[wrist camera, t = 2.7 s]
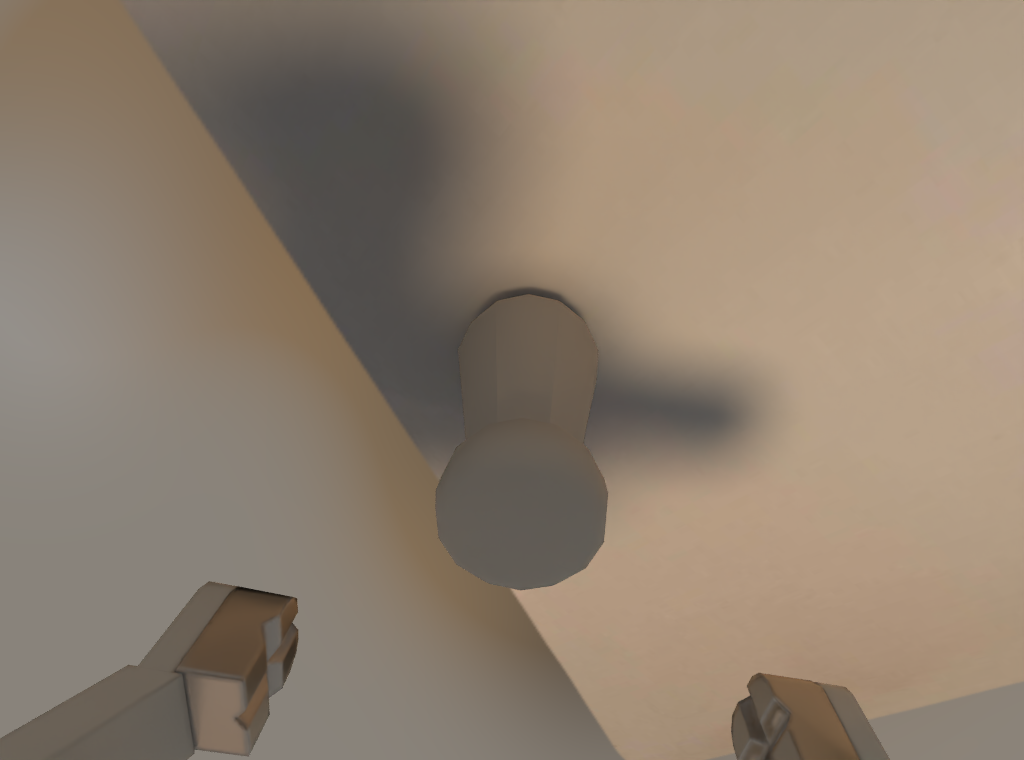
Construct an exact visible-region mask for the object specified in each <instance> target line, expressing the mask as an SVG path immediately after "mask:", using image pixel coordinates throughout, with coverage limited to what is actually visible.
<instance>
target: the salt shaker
mask: <svg viewBox="0 0 1024 760" xmlns="http://www.w3.org/2000/svg"><path fill="white" fill-rule="evenodd" d="M458 353H459V365H460V377H461V389H462V401H463V413H464V425H465V437H466V441H464V442H463V443H461V444H460V445H459V446H458V447H456V449H455V451H454V453H453V455H452V457H451V459H450V461H449V463H448V465H447V467H446V469H445V471H444V473H443V475H442V477H441V479H440V482H439V484H438V486H437V489H436V516H437V526H438V536H439V539H440V541H441V542H442V544H443V545H444V547H445V548H446V550H447V551H448V553H449V554H450V556H451V557H452V559H453V560H454V562H455V563H456V564H457V565H458V566H460V567H462V568H463V569H465V570H467V571H468V572H470V573H472V574H473V575H475V576H477V577H478V578H480V579H482V580H483V581H485V582H487V583H489V584H493V585H498V586H503V587H508V588H512V589H517V590H526V589H533V588H540V587H547V586H552V585H555V584H557V583H559V582H561V581H563V580H565V579H567V578H568V577H570V576H572V575H574V574H576V573H578V572H579V571H581V570H583V569H585V568H586V567H587V566H588V564H589V563H590V561H591V560H592V558H593V557H594V556H595V554H596V553H597V551H598V550H599V548H600V547H601V545H602V544H603V542H604V534H605V523H606V512H607V500H608V491H607V488H606V484H605V480H604V478H603V476H602V474H601V472H600V470H599V468H598V466H597V464H596V462H595V460H594V458H593V456H592V455H591V453H590V451H589V449H588V448H587V447H586V446H585V445H584V438H585V431H586V426H587V422H588V417H589V412H590V408H591V403H592V398H593V394H594V389H595V384H596V380H597V364H598V349H597V346H596V344H595V342H594V340H593V338H592V336H591V333H590V331H589V329H588V327H587V325H586V323H585V321H584V320H583V319H582V318H580V317H579V316H578V315H577V314H575V313H574V312H573V311H572V310H570V309H569V308H568V307H567V306H565V305H564V304H563V303H562V302H560V301H559V300H554V299H549V298H545V297H540V296H536V295H531V294H526V295H522V296H517V297H512V298H507V299H503V300H498V301H496V302H495V303H494V304H493V305H492V306H490V307H489V308H488V309H487V310H486V311H484V312H483V313H482V314H481V315H479V316H478V317H477V318H476V319H475V320H473V321H472V322H471V324H470V326H469V328H468V330H467V332H466V334H465V336H464V338H463V341H462V343H461V345H460V347H459V349H458Z"/></svg>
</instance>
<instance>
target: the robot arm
mask: <svg viewBox="0 0 1024 760" xmlns="http://www.w3.org/2000/svg"><path fill="white" fill-rule="evenodd" d="M297 613H298V607H297V598H294V597H290V596H285V595H280V594H274V593H269V592H264V591H259V590H254V589H249V588H244V587H238V586H232V585H227V584H220V583H215V582H208V583H206V584H205V585H204V586H202V587H201V588H199V589H198V590H197V592H196V593H195V594H194V596H193V597H192V598H191V599H190V601H189V602H188V603H187V604H186V606H185V607H184V608H183V609H182V611H181V612H180V613H179V615H178V616H177V617H176V618H175V620H174V621H173V622H172V624H171V625H170V626H169V627H168V629H167V630H166V631H165V632H164V634H163V635H162V636H161V637H160V639H159V640H158V641H157V643H156V644H155V645H154V646H153V648H152V649H151V650H150V652H149V653H148V654H147V655H146V656H145V658H144V659H143V660H142V661H141V663H140V664H139V665H138V666H132V665H127V666H126V667H124V668H122V669H120V670H119V671H117V672H115V673H113V674H112V675H110V676H108V677H107V678H105V679H103V680H101V681H100V682H98V683H96V684H94V685H93V686H91V687H89V688H87V689H86V690H84V691H82V692H80V693H79V694H77V695H75V696H73V697H72V698H70V699H68V700H66V701H65V702H63V703H61V704H59V705H58V706H56V707H54V708H52V709H51V710H49V711H47V712H45V713H44V714H42V715H40V716H38V717H37V718H35V719H33V720H32V721H30V722H28V723H27V724H25V725H23V726H21V727H19V728H18V729H16V730H14V731H12V732H11V733H9V734H7V735H5V736H4V737H2V738H0V760H187V759H188V758H189V757H191V756H192V755H193V754H194V750H203V751H210V752H218V753H226V754H234V755H241V756H249V755H250V753H251V751H252V749H253V747H254V745H255V743H256V741H257V739H258V737H259V735H260V733H261V731H262V729H263V727H264V725H265V723H266V720H267V719H268V716H269V698H270V697H271V696H272V695H274V694H275V693H276V692H278V691H279V690H280V689H282V688H283V685H284V683H285V681H286V679H287V677H288V675H289V673H290V670H291V667H292V664H293V660H294V658H295V655H296V651H297V644H298V629H297V628H296V627H295V626H294V624H293V623H292V622H293V620H294V618H295V616H296V614H297ZM747 688H748V690H749V693H750V696H749V697H747V698H745V699H743V700H741V701H739V702H738V704H737V706H736V708H735V710H734V712H733V715H732V727H731V734H732V741H733V747H734V750H735V754H736V757H737V760H890V759H889V757H888V755H887V754H886V752H885V750H884V748H883V747H882V745H881V743H880V741H879V739H878V738H877V736H876V734H875V732H874V731H873V729H872V727H871V725H870V724H869V722H868V720H867V718H866V716H865V715H864V713H863V711H862V709H861V708H860V706H859V704H858V702H857V701H856V699H855V697H854V696H853V694H852V693H851V692H850V691H849V690H848V689H847V688H846V687H842V686H837V685H830V684H824V683H818V682H812V681H810V680H803V679H797V678H790V677H783V676H777V675H770V674H763V673H757V674H756V675H754V676H752V677H751V679H750V681H749V683H748V685H747Z"/></svg>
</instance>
